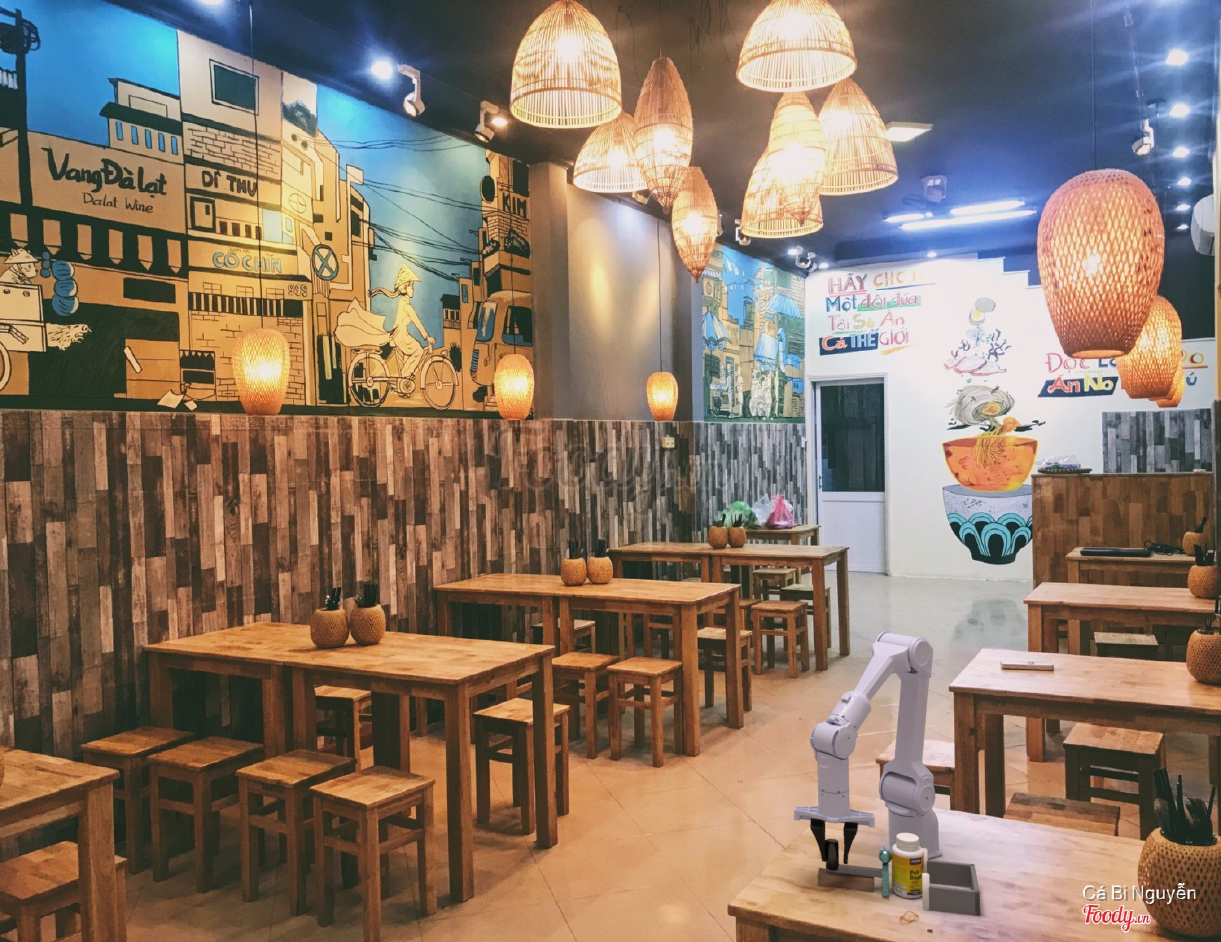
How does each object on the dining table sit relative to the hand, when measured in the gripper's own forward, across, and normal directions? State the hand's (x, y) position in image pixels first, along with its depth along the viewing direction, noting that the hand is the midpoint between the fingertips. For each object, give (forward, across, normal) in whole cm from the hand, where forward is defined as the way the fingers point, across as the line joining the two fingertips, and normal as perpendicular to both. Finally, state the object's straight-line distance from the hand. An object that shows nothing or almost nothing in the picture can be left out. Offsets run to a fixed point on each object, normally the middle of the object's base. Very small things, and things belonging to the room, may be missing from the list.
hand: (835, 860), depth 170 cm
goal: (+4, +20, 0) cm, 20 cm away
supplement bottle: (+5, +13, 0) cm, 14 cm away
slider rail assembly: (+4, +4, 0) cm, 6 cm away
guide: (+4, +2, 0) cm, 5 cm away
